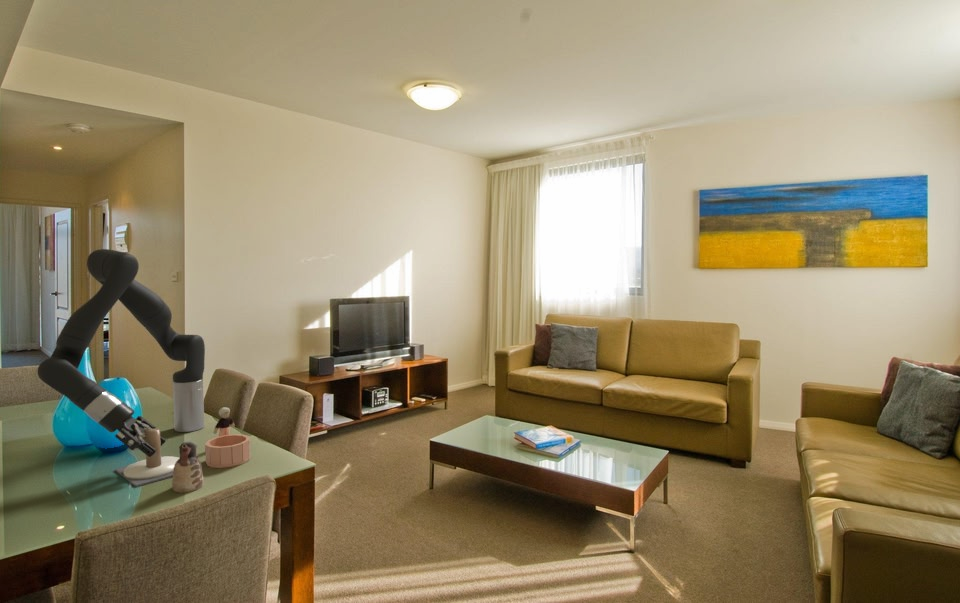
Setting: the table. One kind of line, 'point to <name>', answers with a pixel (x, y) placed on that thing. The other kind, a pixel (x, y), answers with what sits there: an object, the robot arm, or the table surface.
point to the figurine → (187, 470)
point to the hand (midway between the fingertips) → (158, 448)
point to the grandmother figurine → (224, 422)
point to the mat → (142, 481)
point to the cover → (151, 460)
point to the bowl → (227, 451)
